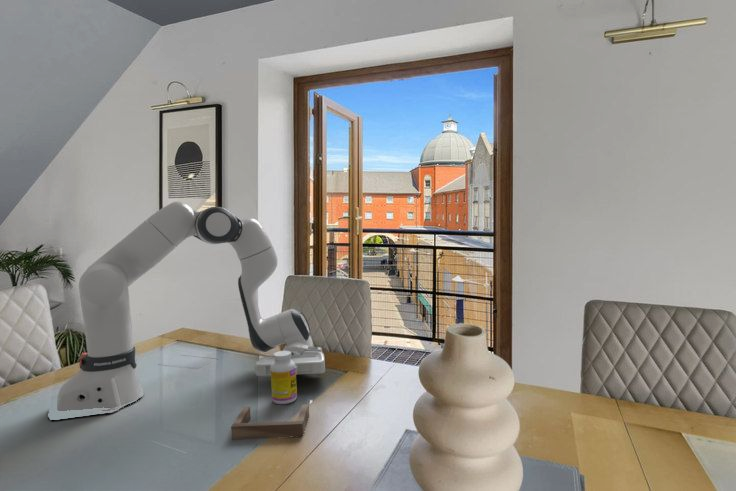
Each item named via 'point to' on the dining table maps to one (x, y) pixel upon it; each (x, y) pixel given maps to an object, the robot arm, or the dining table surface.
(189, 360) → the dining table surface
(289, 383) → the supplement bottle
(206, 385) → the dining table surface
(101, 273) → the robot arm
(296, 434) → the walnut bay
